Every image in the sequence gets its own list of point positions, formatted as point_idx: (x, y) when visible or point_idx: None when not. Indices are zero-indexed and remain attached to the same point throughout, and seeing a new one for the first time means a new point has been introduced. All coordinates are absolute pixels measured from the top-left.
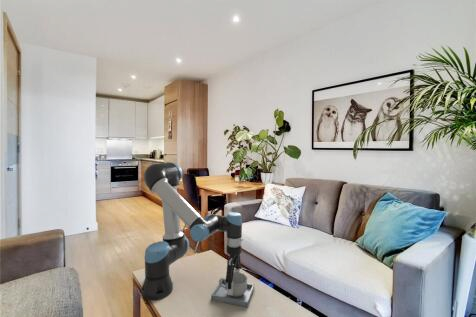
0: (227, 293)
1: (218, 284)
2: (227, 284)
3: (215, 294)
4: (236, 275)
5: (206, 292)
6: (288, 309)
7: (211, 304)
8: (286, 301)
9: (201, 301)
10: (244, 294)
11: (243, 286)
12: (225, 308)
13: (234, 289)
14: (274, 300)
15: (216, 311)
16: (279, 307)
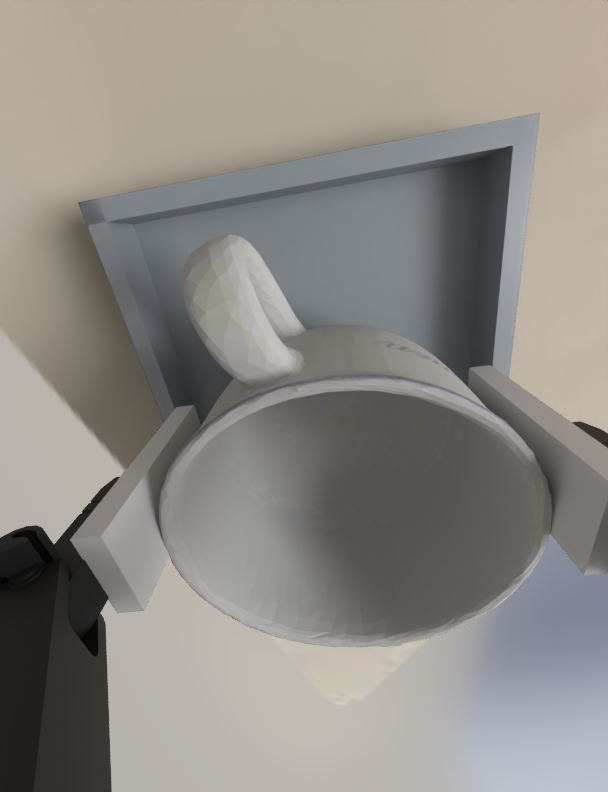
0: (172, 417)
1: (355, 154)
2: (111, 495)
3: (207, 209)
4: (499, 462)
5: (204, 24)
6: (330, 675)
7: (69, 253)
8: (393, 662)
9: (17, 90)
10: None
11: (282, 593)
12: (119, 402)
13: (205, 511)
14: None
15: (35, 352)
16: (326, 648)
